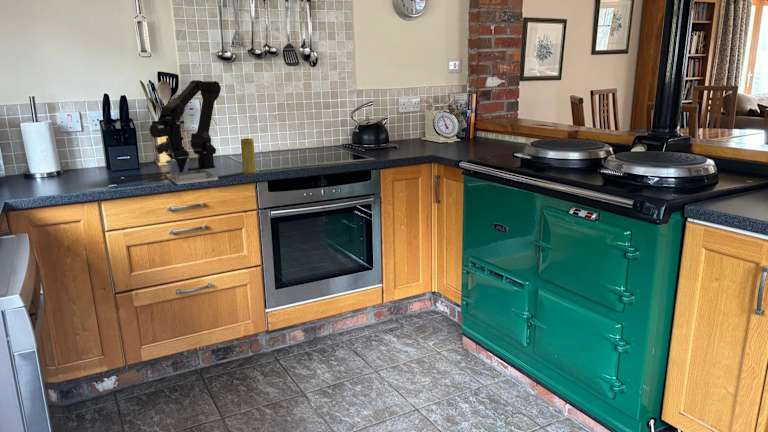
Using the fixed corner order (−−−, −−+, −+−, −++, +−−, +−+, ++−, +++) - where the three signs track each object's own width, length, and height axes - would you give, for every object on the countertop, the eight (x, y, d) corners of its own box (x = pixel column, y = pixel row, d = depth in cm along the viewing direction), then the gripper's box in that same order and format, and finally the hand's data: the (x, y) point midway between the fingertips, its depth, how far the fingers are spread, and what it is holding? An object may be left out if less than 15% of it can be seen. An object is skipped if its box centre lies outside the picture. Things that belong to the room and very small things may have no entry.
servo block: (188, 172, 250) (186, 157, 249) (190, 173, 247) (189, 158, 245) (167, 174, 246) (165, 159, 244) (169, 175, 243) (167, 160, 241)
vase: (242, 174, 243) (239, 140, 239) (242, 171, 249) (239, 138, 245) (257, 173, 244) (254, 139, 241) (256, 170, 250) (253, 138, 246)
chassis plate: (204, 172, 248) (204, 166, 248) (218, 179, 232) (217, 172, 231) (166, 176, 240) (165, 170, 239) (177, 184, 224) (176, 177, 223)
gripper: (150, 134, 246) (154, 170, 250) (159, 138, 230) (163, 176, 235) (176, 132, 251) (180, 167, 255) (187, 136, 236) (191, 173, 240)
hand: (178, 171), depth 246 cm, fingers open, 9 cm apart
